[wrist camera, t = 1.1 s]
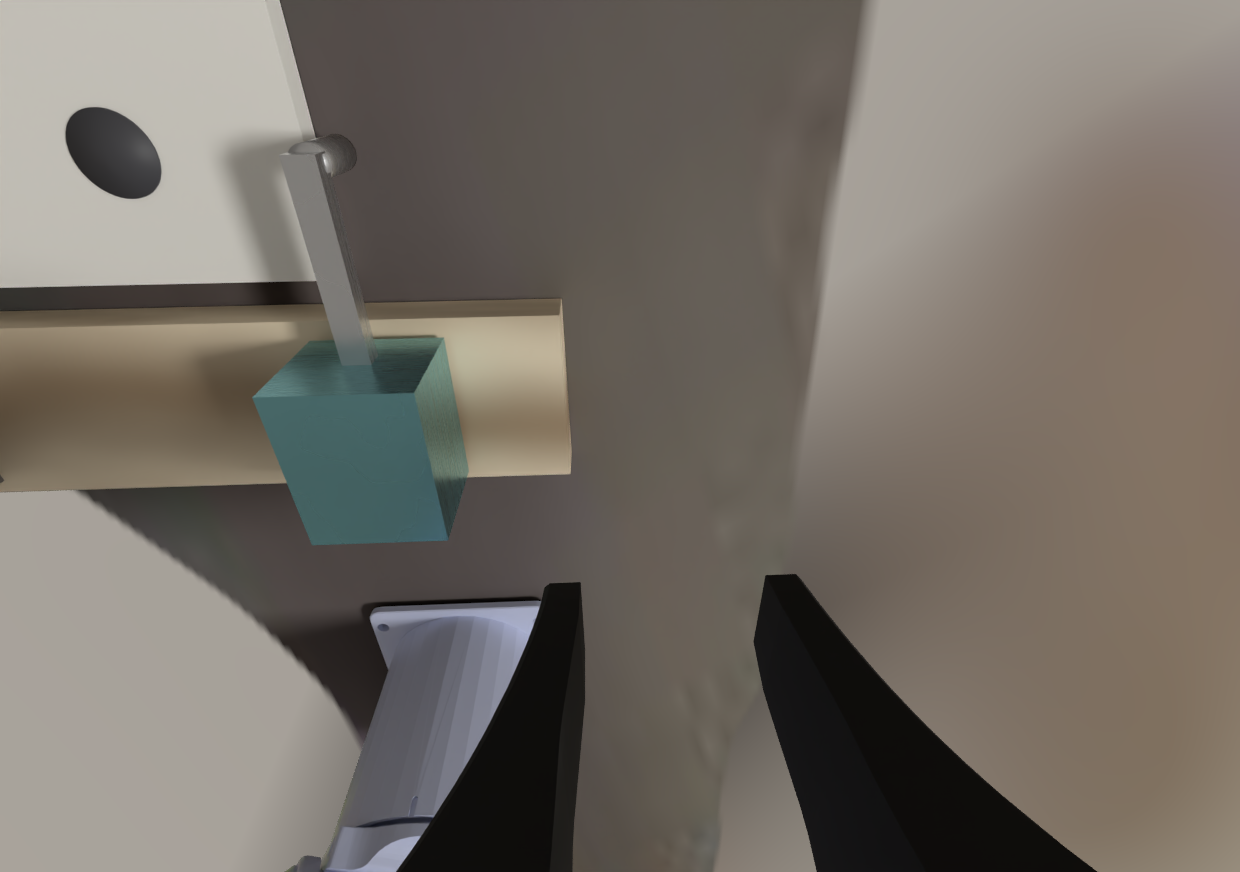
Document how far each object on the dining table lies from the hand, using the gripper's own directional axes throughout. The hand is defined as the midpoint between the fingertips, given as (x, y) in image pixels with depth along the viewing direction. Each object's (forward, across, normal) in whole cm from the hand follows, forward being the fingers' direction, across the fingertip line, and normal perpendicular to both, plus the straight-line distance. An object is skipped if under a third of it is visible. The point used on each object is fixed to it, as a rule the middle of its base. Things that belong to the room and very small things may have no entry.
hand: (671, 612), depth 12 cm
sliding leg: (+9, +8, -3) cm, 12 cm away
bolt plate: (+10, +18, -8) cm, 22 cm away
